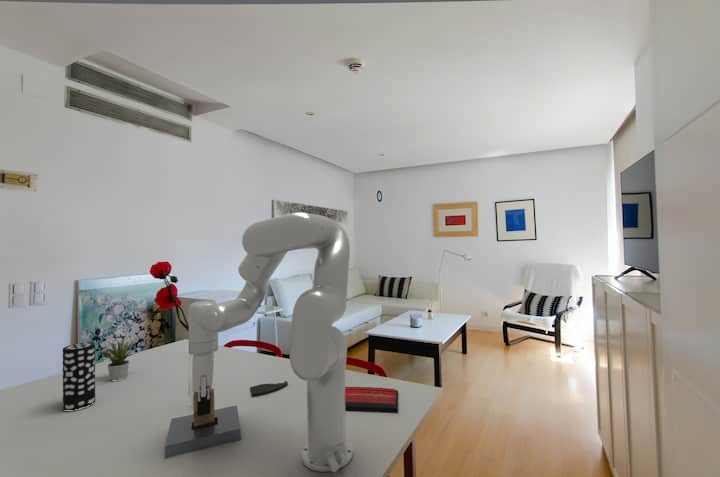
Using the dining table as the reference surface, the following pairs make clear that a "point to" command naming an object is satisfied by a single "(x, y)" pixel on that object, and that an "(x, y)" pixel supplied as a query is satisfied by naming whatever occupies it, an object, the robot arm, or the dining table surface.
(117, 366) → the house plant
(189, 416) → the socket plate
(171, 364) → the dining table surface
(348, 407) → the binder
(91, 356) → the spotted tube
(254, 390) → the curved wedge
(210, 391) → the keyed peg
